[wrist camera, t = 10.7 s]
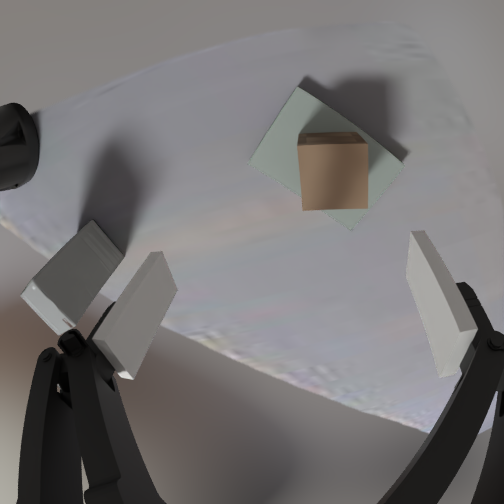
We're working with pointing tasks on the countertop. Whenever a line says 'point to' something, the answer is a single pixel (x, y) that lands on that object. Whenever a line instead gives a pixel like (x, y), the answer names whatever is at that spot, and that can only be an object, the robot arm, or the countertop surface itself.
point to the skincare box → (72, 278)
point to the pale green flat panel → (319, 121)
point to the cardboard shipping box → (333, 170)
